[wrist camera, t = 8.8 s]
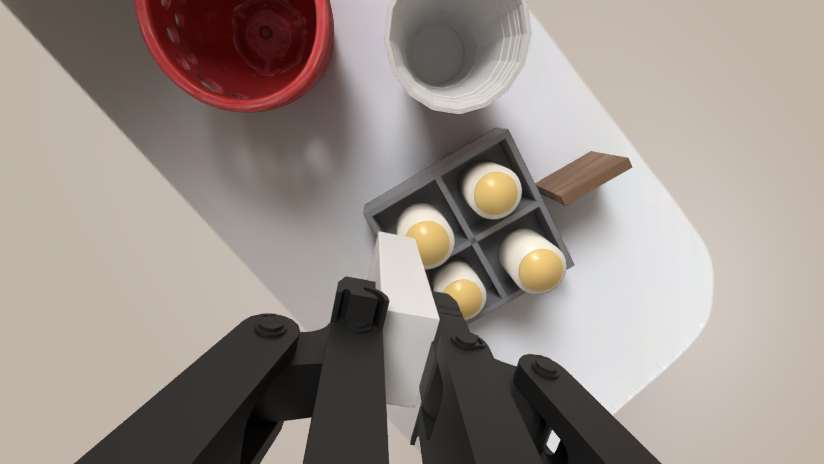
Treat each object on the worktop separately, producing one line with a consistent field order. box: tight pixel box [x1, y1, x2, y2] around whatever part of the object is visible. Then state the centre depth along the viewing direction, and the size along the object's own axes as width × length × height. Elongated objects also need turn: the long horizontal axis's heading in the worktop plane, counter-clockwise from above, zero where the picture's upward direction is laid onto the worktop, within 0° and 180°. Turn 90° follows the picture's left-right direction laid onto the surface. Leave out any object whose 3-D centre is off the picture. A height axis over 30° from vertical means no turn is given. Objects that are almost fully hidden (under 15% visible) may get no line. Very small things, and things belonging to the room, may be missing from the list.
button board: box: [363, 128, 574, 324], centre depth 44 cm, size 16×16×4 cm
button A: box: [396, 203, 454, 269], centre depth 39 cm, size 5×5×5 cm
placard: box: [535, 151, 632, 205], centre depth 42 cm, size 1×7×7 cm, turn 120°
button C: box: [431, 258, 486, 320], centre depth 43 cm, size 5×5×5 cm
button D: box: [498, 229, 566, 294], centre depth 40 cm, size 5×5×5 cm
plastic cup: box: [384, 0, 532, 114], centre depth 35 cm, size 11×11×12 cm
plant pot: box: [135, 0, 334, 112], centre depth 34 cm, size 13×13×12 cm
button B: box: [459, 160, 522, 219], centre depth 41 cm, size 5×5×5 cm
